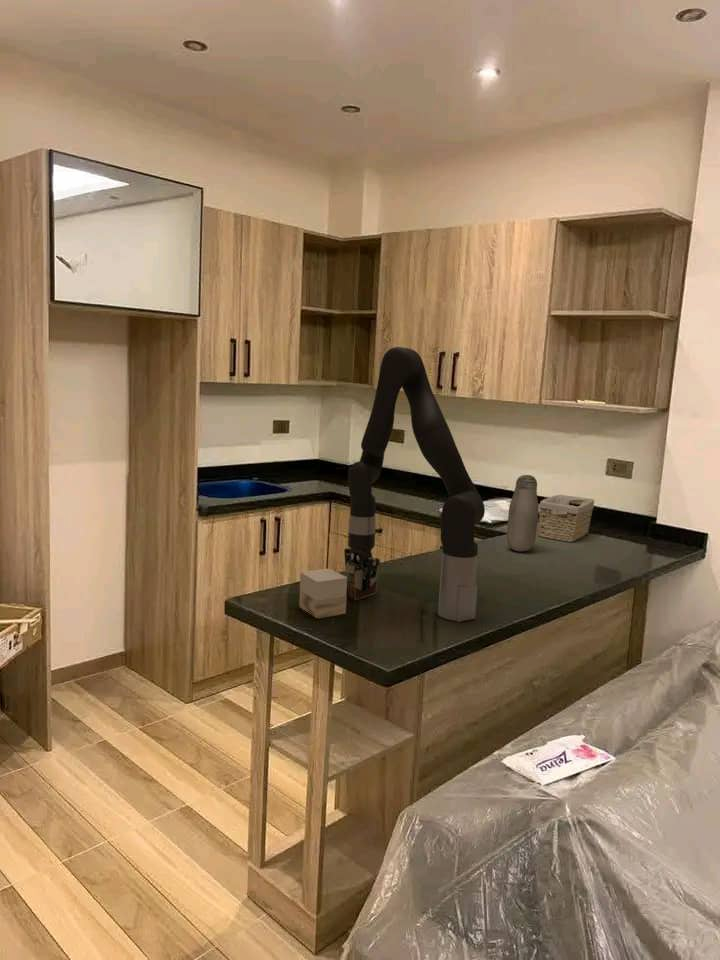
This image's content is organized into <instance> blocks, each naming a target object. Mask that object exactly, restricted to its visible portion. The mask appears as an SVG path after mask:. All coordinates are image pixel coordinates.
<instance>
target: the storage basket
mask: <svg viewBox="0 0 720 960" xmlns="http://www.w3.org/2000/svg"><path fill="white" fill-rule="evenodd" d="M570 504H572V505H570ZM594 504H595V499H593V498H586V497H580V496H572V495H565V494H558V495H557V494H555V495H551V496H550V497H548V498H544V499H543V500H540V503H539V505H538V506H539V513H538V516H539V518H538V528H539V529H538V536H540V537H542V538H546V539H552V540H556V541H563V542H570V543H573V542H575V541H576V540H579V539H580V538H582V537H584V536H585V535H587V534H588V533H589V527H590V525H591V519H592V514H593V510H594V508H595V505H594ZM575 505H578V506H575Z"/></svg>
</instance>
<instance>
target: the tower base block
mask: <svg viewBox="0 0 720 960" xmlns="http://www.w3.org/2000/svg"><path fill="white" fill-rule="evenodd" d="M347 598H348V597H347V595H346V596H343V597H336V598H330V599H324V600H317V601H316V600H315V599H313V598H311V597H310V596H308V595H307V594H305V593H303V592H302V591H300V590H299V604H298V605H299V607H300V608H302V609H303V610H305V611H306V612H308V613H309V614H308V613H307V614H308V615H310V614H311V615H312V616H311V615H310V616H311V617H313V616H314V617H315V618H314V617H313V618H314V619H316V618H318V619H323V618H327V617H328V618H329V617H333V616H334V617H335V616H340V615H345V614H346V613H347ZM299 607H298V608H299ZM300 608H299V609H300ZM302 609H301V610H302ZM303 610H302V611H303ZM305 611H304V612H305ZM306 612H305V613H306Z"/></svg>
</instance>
